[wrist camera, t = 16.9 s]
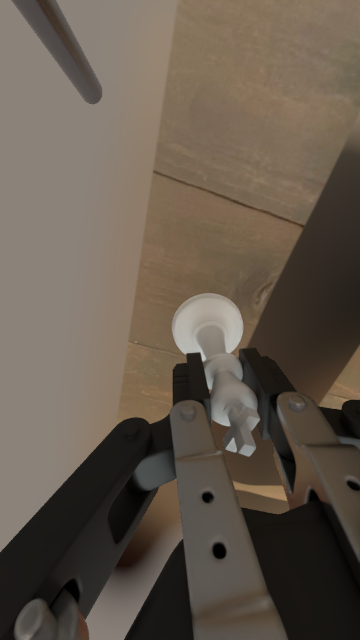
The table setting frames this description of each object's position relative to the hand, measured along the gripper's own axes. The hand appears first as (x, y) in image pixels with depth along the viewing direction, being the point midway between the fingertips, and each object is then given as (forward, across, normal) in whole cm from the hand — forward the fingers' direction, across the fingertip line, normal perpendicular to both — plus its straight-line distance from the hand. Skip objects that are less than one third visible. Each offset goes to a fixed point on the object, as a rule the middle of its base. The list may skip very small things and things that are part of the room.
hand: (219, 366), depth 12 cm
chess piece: (+5, 0, 0) cm, 5 cm away
